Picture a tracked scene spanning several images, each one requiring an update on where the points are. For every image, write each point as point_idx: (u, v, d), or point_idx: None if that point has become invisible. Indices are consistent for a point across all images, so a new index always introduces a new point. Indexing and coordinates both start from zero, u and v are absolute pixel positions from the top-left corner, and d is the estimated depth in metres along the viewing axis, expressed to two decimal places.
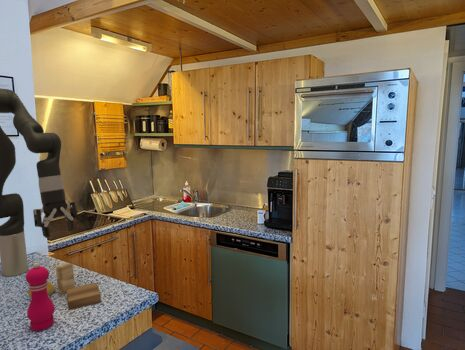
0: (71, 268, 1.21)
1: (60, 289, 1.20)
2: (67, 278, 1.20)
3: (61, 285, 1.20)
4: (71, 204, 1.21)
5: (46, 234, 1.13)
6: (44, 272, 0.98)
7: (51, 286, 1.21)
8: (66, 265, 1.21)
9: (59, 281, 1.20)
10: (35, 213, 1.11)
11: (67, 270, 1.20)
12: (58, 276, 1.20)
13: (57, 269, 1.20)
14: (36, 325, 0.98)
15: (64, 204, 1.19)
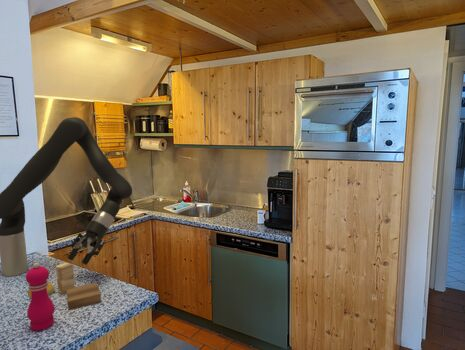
0: (71, 268, 1.21)
1: (60, 289, 1.20)
2: (67, 278, 1.20)
3: (61, 285, 1.20)
4: None
5: None
6: (44, 272, 0.98)
7: (51, 286, 1.21)
8: (66, 265, 1.21)
9: (59, 281, 1.20)
10: (101, 243, 1.26)
11: (67, 270, 1.20)
12: (58, 276, 1.20)
13: (57, 269, 1.20)
14: (36, 325, 0.98)
15: None
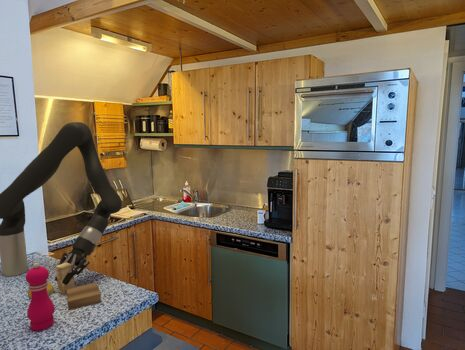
0: None
1: (60, 289, 1.20)
2: None
3: (61, 285, 1.20)
4: None
5: None
6: (44, 272, 0.98)
7: (50, 286, 1.21)
8: (66, 265, 1.21)
9: (59, 281, 1.20)
10: (85, 264, 1.21)
11: (67, 269, 1.20)
12: (58, 276, 1.20)
13: (57, 269, 1.20)
14: (36, 325, 0.98)
15: None
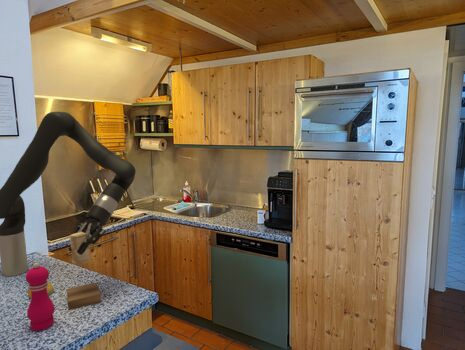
0: None
1: (75, 259, 1.12)
2: None
3: (76, 255, 1.12)
4: None
5: None
6: (44, 272, 0.98)
7: (50, 286, 1.21)
8: (81, 234, 1.13)
9: (73, 251, 1.12)
10: (101, 232, 1.13)
11: (82, 238, 1.12)
12: (72, 245, 1.12)
13: (71, 238, 1.12)
14: (36, 325, 0.98)
15: None
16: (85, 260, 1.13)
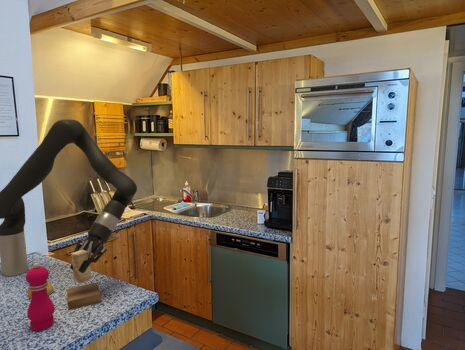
0: None
1: (76, 278, 1.13)
2: None
3: (77, 273, 1.13)
4: None
5: None
6: (44, 272, 0.98)
7: (50, 286, 1.21)
8: (82, 252, 1.14)
9: (75, 269, 1.13)
10: (102, 251, 1.14)
11: (83, 257, 1.13)
12: (74, 264, 1.13)
13: (73, 256, 1.13)
14: (36, 325, 0.98)
15: None
16: (86, 278, 1.14)
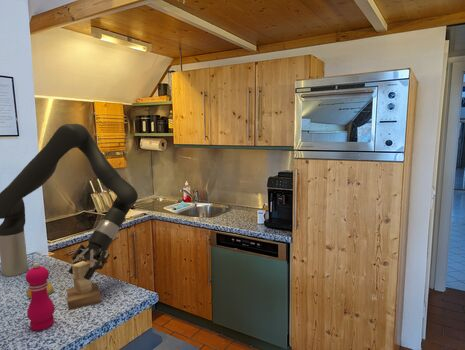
0: (88, 267, 1.15)
1: (77, 289, 1.14)
2: None
3: (78, 285, 1.13)
4: None
5: None
6: (44, 272, 0.98)
7: (50, 286, 1.21)
8: (83, 264, 1.14)
9: (75, 281, 1.14)
10: (106, 256, 1.15)
11: (84, 268, 1.13)
12: (75, 275, 1.14)
13: (73, 268, 1.13)
14: (36, 325, 0.98)
15: None
16: (87, 289, 1.15)
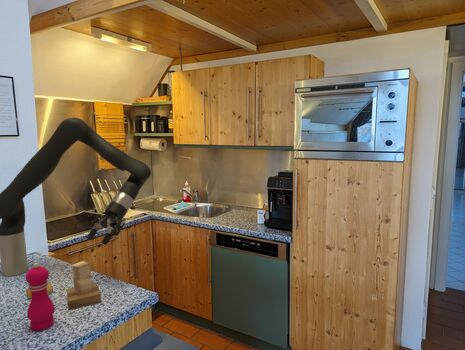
0: (88, 267, 1.15)
1: (77, 289, 1.14)
2: (84, 277, 1.14)
3: (78, 285, 1.13)
4: None
5: None
6: (44, 272, 0.98)
7: (49, 286, 1.21)
8: (83, 264, 1.14)
9: (75, 281, 1.14)
10: (121, 224, 1.25)
11: (84, 268, 1.13)
12: (75, 275, 1.14)
13: (73, 268, 1.13)
14: (36, 325, 0.98)
15: None
16: (87, 289, 1.15)
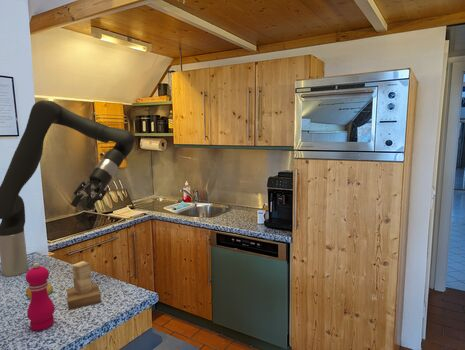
0: (88, 267, 1.15)
1: (77, 289, 1.14)
2: (84, 277, 1.14)
3: (78, 285, 1.13)
4: None
5: None
6: (44, 272, 0.98)
7: (49, 286, 1.21)
8: (83, 264, 1.14)
9: (75, 281, 1.14)
10: (105, 188, 1.24)
11: (84, 268, 1.13)
12: (75, 275, 1.14)
13: (73, 268, 1.13)
14: (36, 325, 0.98)
15: None
16: (87, 289, 1.15)
